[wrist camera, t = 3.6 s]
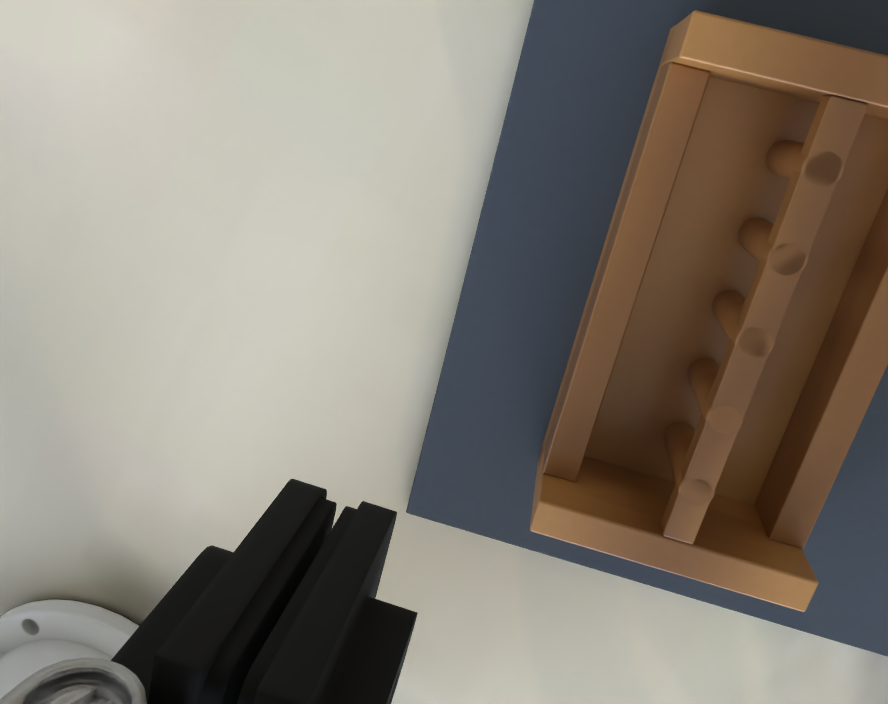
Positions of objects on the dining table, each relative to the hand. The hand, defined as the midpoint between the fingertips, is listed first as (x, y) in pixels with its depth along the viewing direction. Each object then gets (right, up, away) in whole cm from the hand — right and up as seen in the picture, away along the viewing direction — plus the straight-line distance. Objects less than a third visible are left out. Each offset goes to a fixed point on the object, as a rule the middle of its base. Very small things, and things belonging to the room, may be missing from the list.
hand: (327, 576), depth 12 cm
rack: (+12, +5, +16) cm, 20 cm away
